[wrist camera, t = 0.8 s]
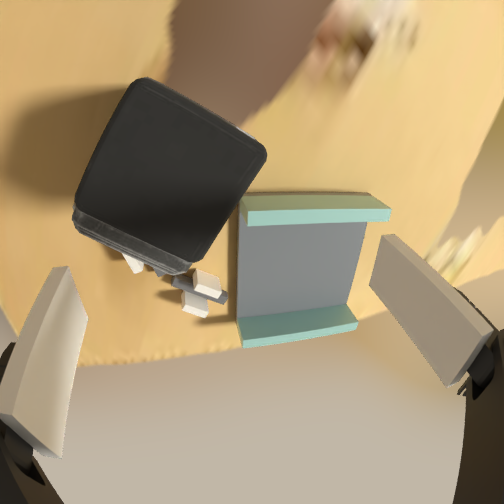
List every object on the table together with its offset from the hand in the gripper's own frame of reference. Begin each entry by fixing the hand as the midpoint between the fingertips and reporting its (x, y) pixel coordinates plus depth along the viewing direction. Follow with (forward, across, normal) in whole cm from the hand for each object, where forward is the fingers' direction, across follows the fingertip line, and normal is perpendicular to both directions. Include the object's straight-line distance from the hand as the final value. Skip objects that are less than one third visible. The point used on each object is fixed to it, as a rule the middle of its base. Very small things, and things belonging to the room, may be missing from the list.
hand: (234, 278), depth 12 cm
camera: (+20, -3, +2) cm, 20 cm away
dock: (+20, +11, -13) cm, 26 cm away
